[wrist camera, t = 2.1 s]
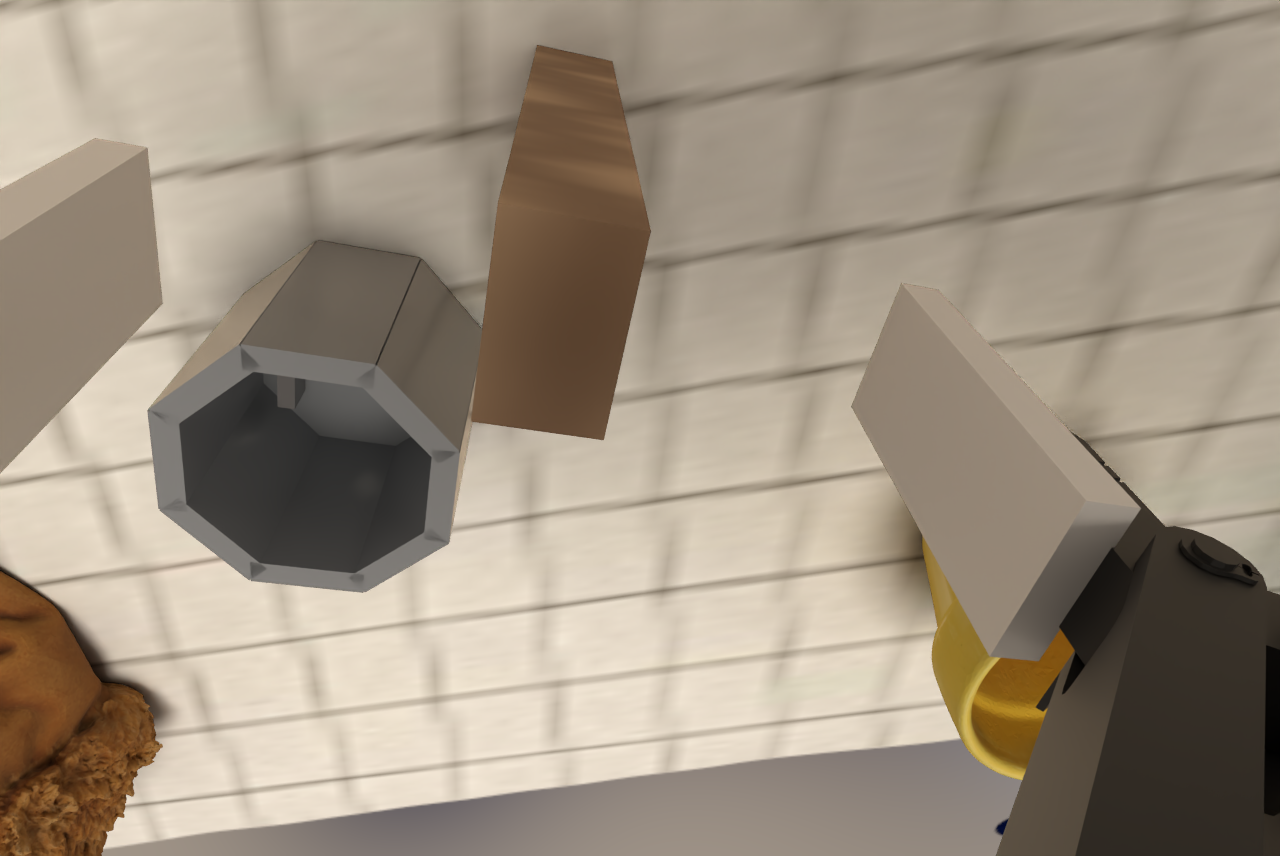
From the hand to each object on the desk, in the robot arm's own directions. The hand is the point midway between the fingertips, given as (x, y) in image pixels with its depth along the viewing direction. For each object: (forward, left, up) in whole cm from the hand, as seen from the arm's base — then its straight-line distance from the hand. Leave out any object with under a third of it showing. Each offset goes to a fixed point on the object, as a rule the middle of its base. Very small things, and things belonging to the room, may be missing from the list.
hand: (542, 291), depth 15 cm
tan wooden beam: (0, 0, -15) cm, 15 cm away
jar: (+6, +10, -15) cm, 19 cm away
